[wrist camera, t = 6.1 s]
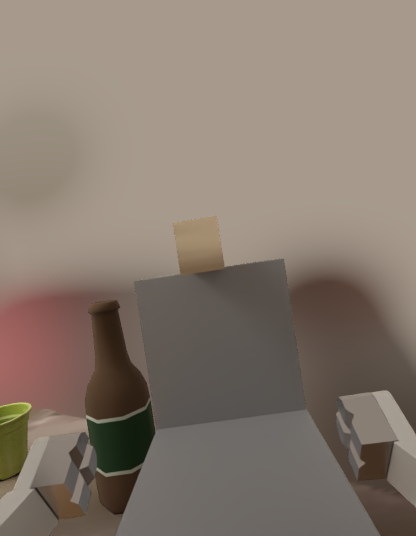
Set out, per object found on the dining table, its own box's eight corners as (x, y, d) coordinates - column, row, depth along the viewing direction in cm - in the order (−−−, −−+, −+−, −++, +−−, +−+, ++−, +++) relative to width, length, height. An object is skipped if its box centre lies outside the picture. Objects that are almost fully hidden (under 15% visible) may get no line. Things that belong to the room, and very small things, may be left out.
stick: (224, 268, 19) (216, 215, 19) (180, 275, 20) (172, 222, 20) (223, 266, 38) (219, 240, 38) (200, 270, 39) (196, 243, 39)
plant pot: (52, 458, 55) (43, 404, 55) (-11, 497, 47) (-21, 434, 47) (18, 450, 60) (10, 400, 60) (-44, 484, 52) (-53, 426, 52)
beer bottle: (174, 477, 45) (147, 294, 45) (140, 521, 38) (107, 303, 38) (126, 471, 48) (99, 299, 48) (85, 511, 41) (54, 309, 41)
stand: (450, 920, 13) (349, 252, 13) (143, 942, 14) (45, 298, 14) (308, 512, 35) (269, 260, 35) (191, 526, 36) (153, 277, 36)
